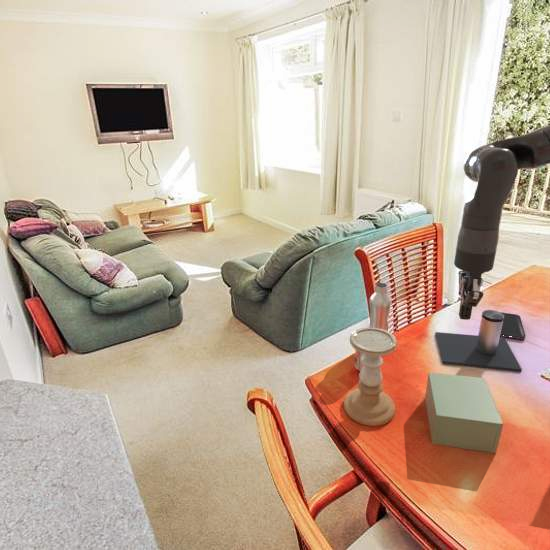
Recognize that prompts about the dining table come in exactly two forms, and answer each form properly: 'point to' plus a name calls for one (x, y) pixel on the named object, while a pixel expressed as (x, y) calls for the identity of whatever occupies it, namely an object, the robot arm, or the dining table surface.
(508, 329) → the phone
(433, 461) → the dining table surface
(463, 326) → the dining table surface
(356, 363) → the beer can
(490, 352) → the canister
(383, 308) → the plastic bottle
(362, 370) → the candle holder
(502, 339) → the mat
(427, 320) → the dining table surface
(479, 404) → the cabinet
